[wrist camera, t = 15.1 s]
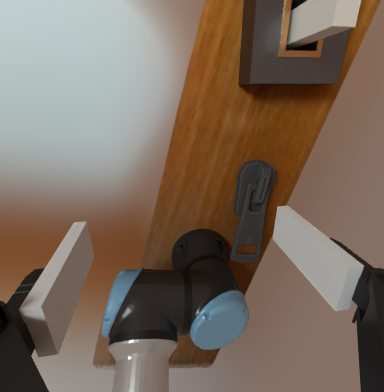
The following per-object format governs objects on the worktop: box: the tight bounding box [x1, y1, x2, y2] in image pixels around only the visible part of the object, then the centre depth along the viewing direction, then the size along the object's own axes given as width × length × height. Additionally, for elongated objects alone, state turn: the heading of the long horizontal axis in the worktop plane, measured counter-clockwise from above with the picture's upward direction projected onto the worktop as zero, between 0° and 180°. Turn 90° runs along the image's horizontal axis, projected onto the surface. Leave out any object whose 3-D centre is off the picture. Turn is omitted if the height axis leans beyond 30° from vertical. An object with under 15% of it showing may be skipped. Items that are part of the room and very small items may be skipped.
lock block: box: [239, 0, 350, 85], centre depth 42 cm, size 18×18×6 cm
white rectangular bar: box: [286, 0, 361, 50], centre depth 38 cm, size 5×4×16 cm
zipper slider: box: [230, 160, 276, 263], centre depth 56 cm, size 9×7×25 cm
